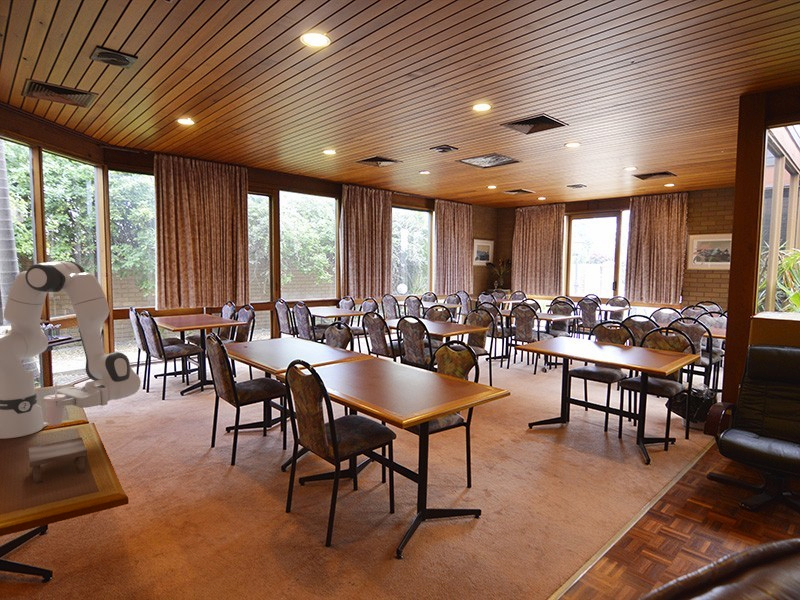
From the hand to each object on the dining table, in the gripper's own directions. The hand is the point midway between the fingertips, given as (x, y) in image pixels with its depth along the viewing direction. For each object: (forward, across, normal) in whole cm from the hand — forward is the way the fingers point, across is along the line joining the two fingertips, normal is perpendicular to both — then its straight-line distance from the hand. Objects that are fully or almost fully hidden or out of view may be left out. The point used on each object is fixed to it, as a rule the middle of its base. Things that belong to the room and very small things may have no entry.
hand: (51, 402), depth 163 cm
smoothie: (-1, 0, +8) cm, 8 cm away
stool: (+7, +19, +17) cm, 27 cm away
